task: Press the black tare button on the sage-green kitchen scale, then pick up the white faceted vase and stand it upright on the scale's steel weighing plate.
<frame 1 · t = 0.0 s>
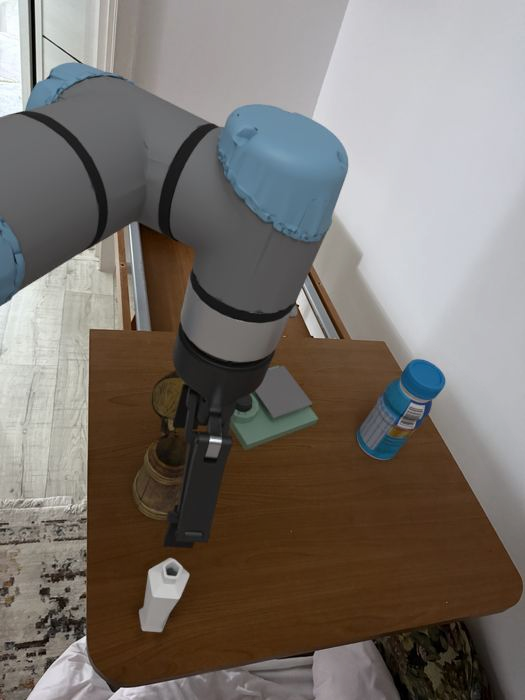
hand: (181, 479, 52), 24 cm above the table, tool pointing down, fingers open, 13 cm apart
tare button: (242, 401, 88), point 4 cm above the table, slide at 0.1 cm
beverage bottle: (375, 443, 96), on the table
scale plate: (278, 392, 93), resting on scale
scale: (261, 407, 94), on the table
wooden mug: (161, 480, 78), on the table
white faceted vase: (153, 615, 64), on the table
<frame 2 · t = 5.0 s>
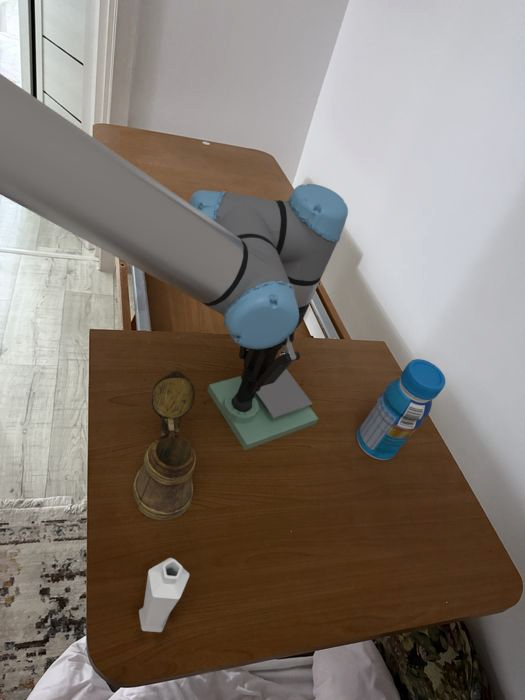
hand: (244, 397, 87), 5 cm above the table, tool pointing down, fingers closed
tare button: (242, 401, 88), point 4 cm above the table, slide at 0.1 cm, touching gripper
everything else where it was.
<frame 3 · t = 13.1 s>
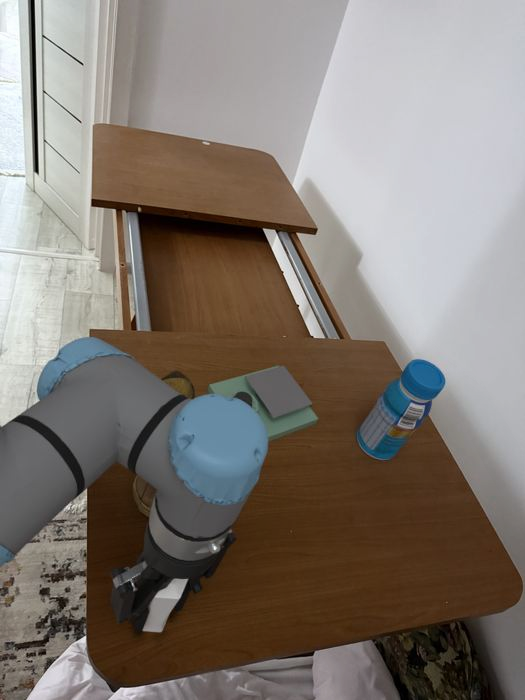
hand: (155, 610, 63), 2 cm above the table, tool pointing down, fingers closed on white faceted vase, 5 cm apart
tare button: (242, 401, 88), point 4 cm above the table, slide at 0.1 cm
white faceted vase: (153, 615, 64), on the table, touching gripper
everything else where it was.
when the fingers open (6 cm above the table, at t = 22.7 s): white faceted vase stays where it is, resting on scale plate.
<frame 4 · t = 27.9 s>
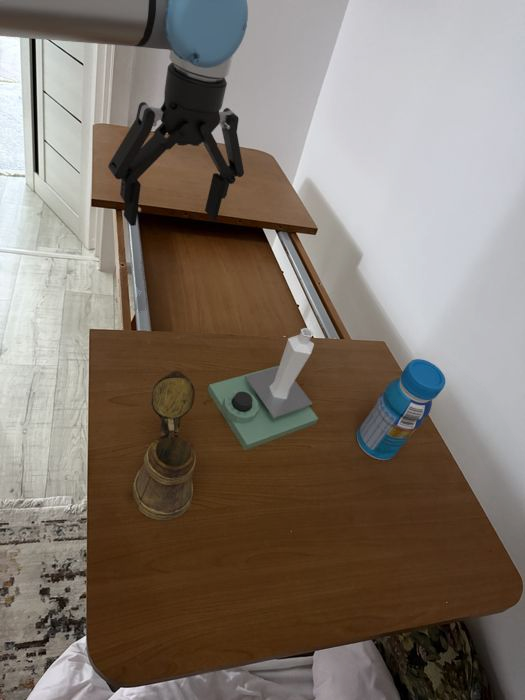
hand: (172, 217, 77), 29 cm above the table, tool pointing down, fingers open, 13 cm apart
white faceted vase: (279, 391, 93), point 4 cm above the table, touching scale plate
everything else where it was.
at the end: tare button pushed in 0.9 cm at the most during the clip, back to where it started at the end; white faceted vase 0.1 cm from the target spot on the scale, point 3.9 cm above the scale's base; white faceted vase tilted 0° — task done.
